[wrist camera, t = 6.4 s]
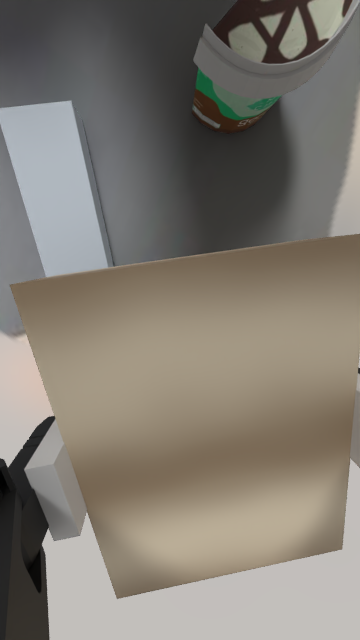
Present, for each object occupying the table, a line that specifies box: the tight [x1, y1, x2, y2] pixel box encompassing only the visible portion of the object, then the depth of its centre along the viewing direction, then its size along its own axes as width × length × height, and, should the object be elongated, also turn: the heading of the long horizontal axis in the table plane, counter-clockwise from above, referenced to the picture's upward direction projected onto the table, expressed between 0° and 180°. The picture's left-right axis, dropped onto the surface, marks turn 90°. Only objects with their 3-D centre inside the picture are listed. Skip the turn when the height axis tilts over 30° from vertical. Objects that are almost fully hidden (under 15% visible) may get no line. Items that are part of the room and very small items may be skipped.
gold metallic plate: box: [10, 234, 360, 599], centre depth 9 cm, size 12×9×3 cm
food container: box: [192, 0, 360, 134], centre depth 18 cm, size 12×6×10 cm, turn 135°
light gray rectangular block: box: [0, 101, 114, 277], centre depth 22 cm, size 14×6×3 cm, turn 8°
